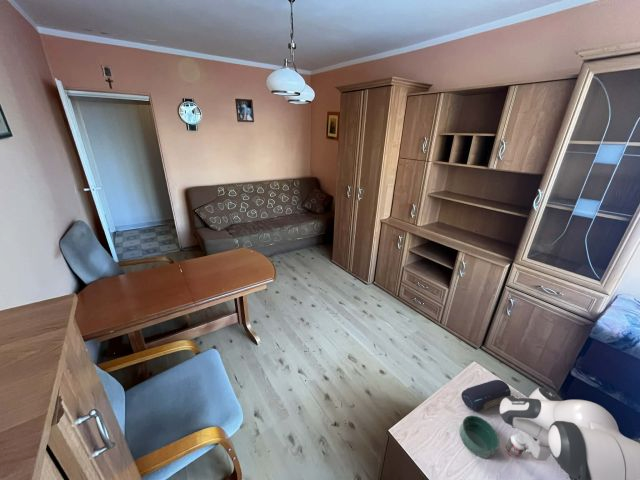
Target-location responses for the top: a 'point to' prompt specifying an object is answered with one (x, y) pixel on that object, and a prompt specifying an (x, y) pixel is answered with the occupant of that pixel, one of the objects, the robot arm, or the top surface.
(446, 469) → the top surface
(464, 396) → the portable speaker
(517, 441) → the pill bottle
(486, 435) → the bowl
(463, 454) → the top surface
